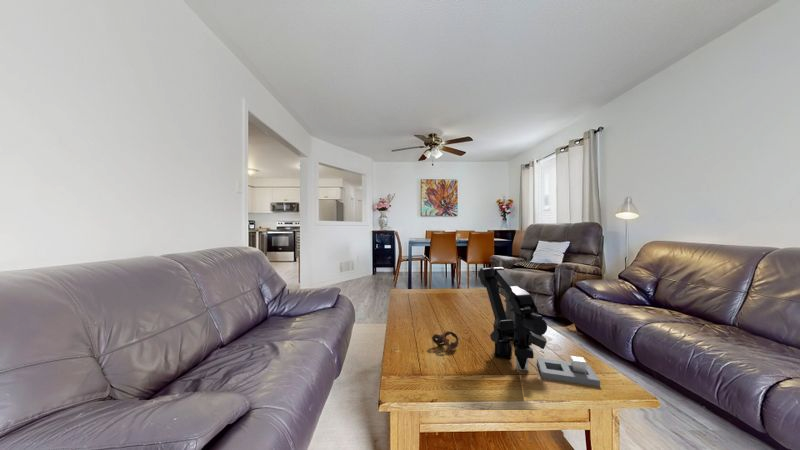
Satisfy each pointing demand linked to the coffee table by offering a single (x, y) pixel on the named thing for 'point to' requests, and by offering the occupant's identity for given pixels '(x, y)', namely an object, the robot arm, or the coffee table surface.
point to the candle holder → (508, 307)
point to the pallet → (566, 372)
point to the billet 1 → (520, 367)
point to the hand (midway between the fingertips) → (522, 366)
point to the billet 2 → (578, 365)
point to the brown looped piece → (445, 340)
